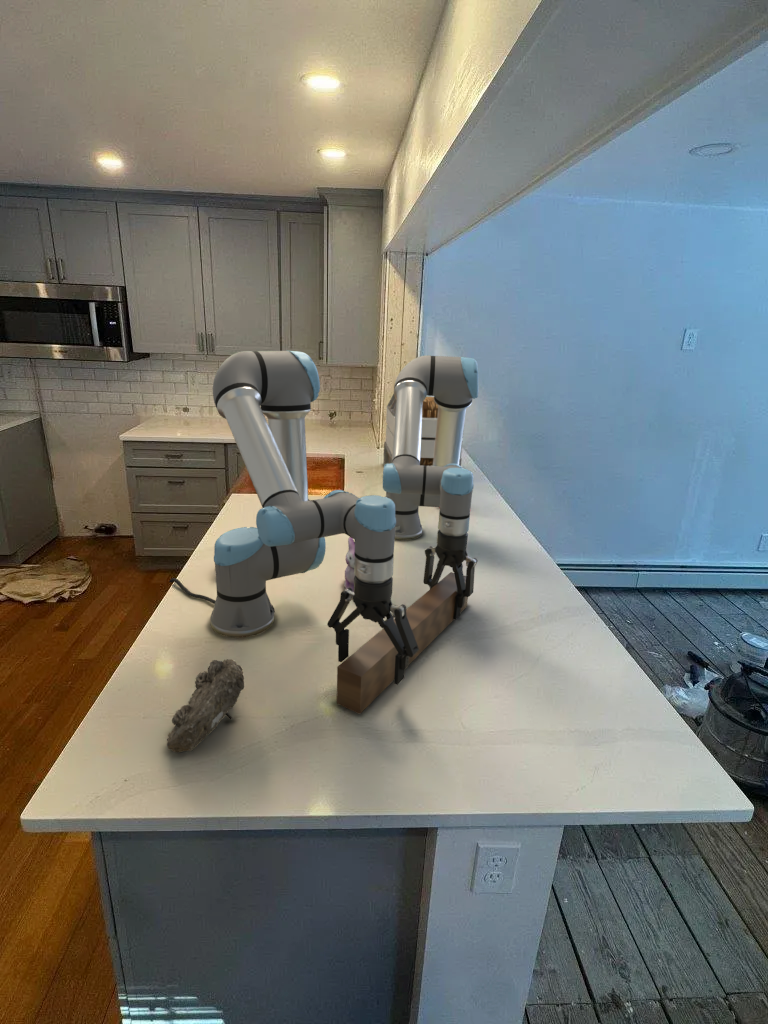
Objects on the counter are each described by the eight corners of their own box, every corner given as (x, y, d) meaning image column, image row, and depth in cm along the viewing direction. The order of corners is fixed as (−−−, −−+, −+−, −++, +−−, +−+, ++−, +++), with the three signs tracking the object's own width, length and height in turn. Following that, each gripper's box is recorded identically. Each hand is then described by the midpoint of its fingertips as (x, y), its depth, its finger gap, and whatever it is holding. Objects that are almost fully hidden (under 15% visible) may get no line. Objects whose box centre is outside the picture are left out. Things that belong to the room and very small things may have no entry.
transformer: (382, 463, 289) (386, 382, 275) (445, 464, 293) (451, 384, 279) (390, 482, 257) (394, 392, 243) (460, 483, 261) (468, 394, 247)
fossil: (192, 660, 117) (244, 628, 112) (224, 691, 120) (276, 661, 115) (142, 746, 98) (202, 712, 93) (182, 779, 101) (242, 748, 96)
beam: (448, 600, 156) (450, 571, 153) (467, 606, 153) (470, 577, 150) (336, 703, 113) (337, 666, 110) (359, 714, 111) (361, 676, 108)
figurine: (350, 597, 154) (351, 546, 149) (335, 581, 163) (336, 533, 158) (381, 591, 159) (383, 541, 153) (365, 576, 167) (367, 528, 162)
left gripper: (310, 566, 112) (311, 658, 119) (421, 601, 100) (415, 701, 107) (332, 554, 118) (332, 642, 125) (440, 585, 106) (433, 681, 113)
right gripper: (412, 527, 141) (407, 608, 149) (482, 544, 132) (473, 630, 140) (426, 518, 147) (420, 597, 155) (494, 535, 139) (484, 618, 146)
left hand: (370, 669), depth 116 cm, fingers open, 13 cm apart
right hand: (445, 613), depth 148 cm, fingers closed on beam, 6 cm apart
